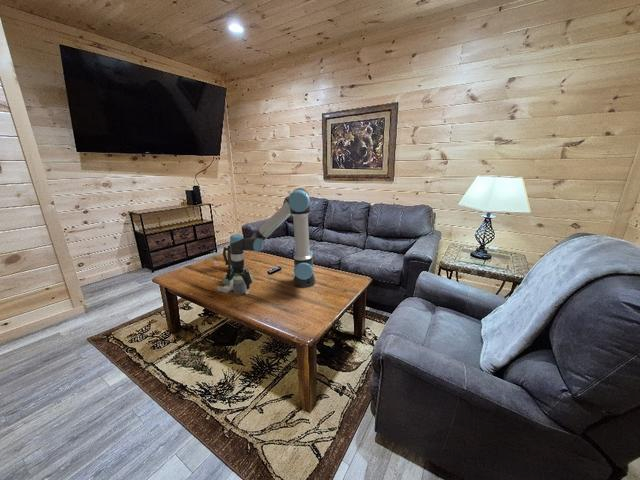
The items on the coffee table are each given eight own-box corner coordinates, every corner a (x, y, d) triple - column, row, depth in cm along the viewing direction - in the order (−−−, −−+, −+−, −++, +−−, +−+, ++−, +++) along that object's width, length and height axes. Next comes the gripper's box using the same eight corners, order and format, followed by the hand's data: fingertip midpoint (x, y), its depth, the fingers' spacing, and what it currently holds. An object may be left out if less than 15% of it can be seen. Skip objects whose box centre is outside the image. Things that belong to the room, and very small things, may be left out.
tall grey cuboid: (247, 290, 170) (246, 280, 168) (240, 295, 164) (239, 285, 162) (241, 289, 172) (240, 279, 170) (233, 293, 166) (232, 283, 164)
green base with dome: (253, 280, 184) (252, 268, 181) (232, 294, 165) (230, 281, 162) (234, 277, 190) (233, 265, 187) (212, 289, 171) (210, 276, 168)
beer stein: (246, 267, 207) (242, 243, 201) (241, 273, 196) (237, 247, 191) (227, 268, 208) (223, 244, 203) (221, 273, 198) (217, 248, 193)
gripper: (257, 260, 161) (258, 292, 167) (226, 254, 169) (228, 285, 175) (249, 264, 154) (251, 298, 160) (218, 258, 163) (220, 289, 169)
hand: (239, 291), depth 168 cm, fingers open, 11 cm apart
